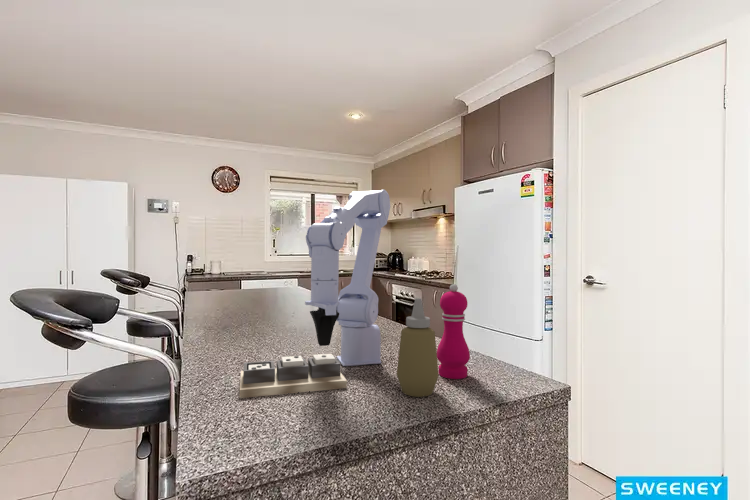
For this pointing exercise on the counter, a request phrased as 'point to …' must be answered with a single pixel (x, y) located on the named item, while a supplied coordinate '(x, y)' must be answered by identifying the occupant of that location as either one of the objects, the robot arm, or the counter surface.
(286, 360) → the tile two
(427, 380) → the squeeze bottle
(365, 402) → the counter surface
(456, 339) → the pepper mill
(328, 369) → the tile board
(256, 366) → the tile three
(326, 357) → the tile one
